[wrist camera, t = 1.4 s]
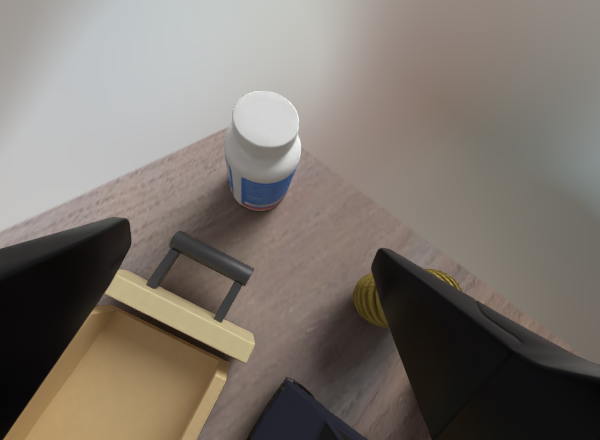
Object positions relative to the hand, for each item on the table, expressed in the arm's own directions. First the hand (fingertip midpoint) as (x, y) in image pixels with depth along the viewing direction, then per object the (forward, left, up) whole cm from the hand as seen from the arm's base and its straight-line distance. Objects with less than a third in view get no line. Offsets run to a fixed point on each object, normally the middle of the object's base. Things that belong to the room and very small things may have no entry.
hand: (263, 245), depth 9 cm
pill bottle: (+7, +3, -13) cm, 16 cm away
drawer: (-9, +3, -12) cm, 15 cm away
